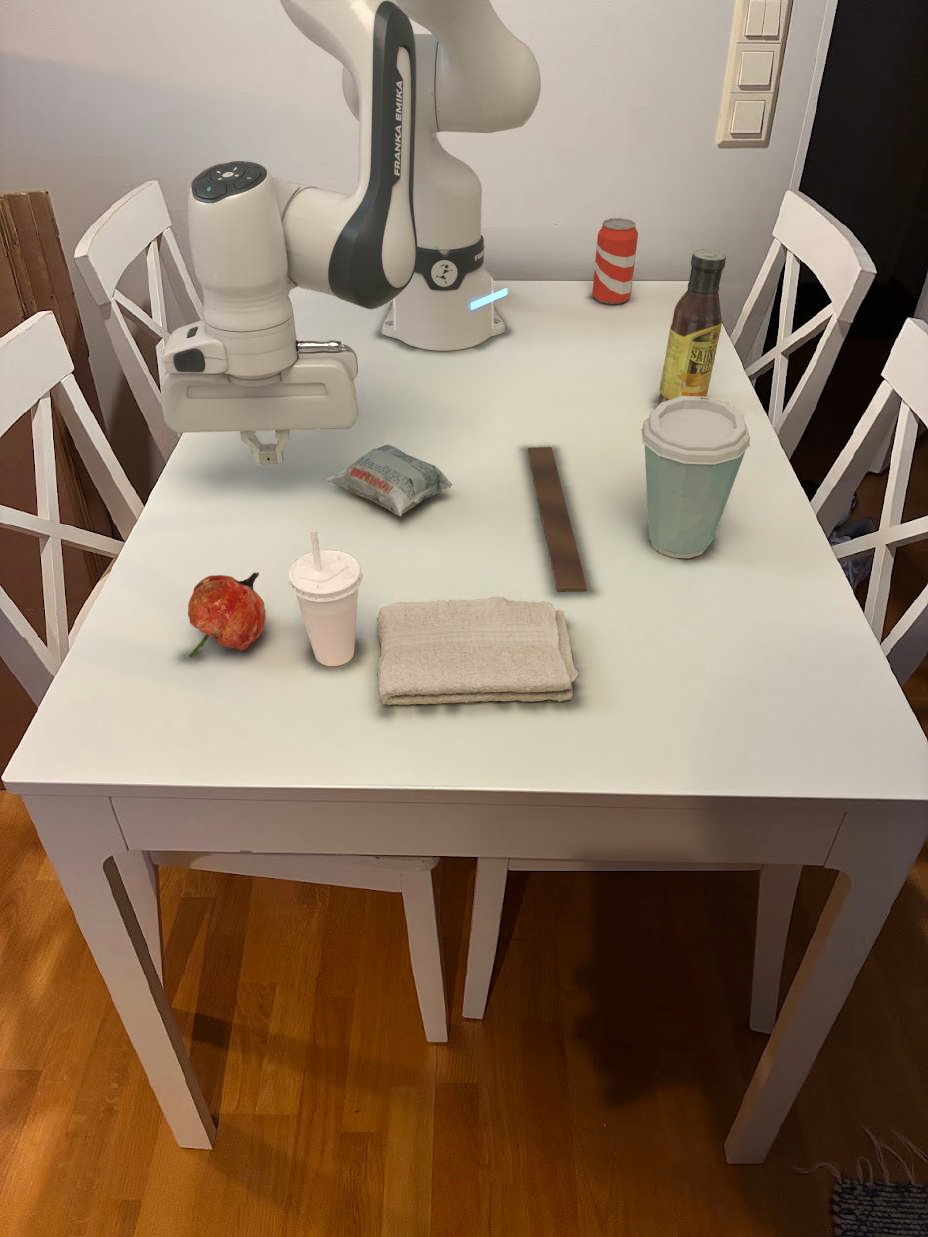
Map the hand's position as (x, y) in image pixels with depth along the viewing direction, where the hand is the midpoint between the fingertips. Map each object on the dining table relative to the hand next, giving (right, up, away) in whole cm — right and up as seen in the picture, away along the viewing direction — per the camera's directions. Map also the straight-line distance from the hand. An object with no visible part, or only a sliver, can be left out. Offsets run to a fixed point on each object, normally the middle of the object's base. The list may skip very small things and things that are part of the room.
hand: (270, 462), depth 103 cm
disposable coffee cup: (+44, -9, -2) cm, 45 cm away
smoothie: (+9, -21, -16) cm, 27 cm away
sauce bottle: (+51, +11, +22) cm, 56 cm away
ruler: (+32, -6, +2) cm, 32 cm away
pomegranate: (-1, -20, -15) cm, 24 cm away
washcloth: (+22, -22, -17) cm, 35 cm away
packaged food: (+13, -4, +4) cm, 14 cm away
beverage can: (+46, +35, +50) cm, 76 cm away
